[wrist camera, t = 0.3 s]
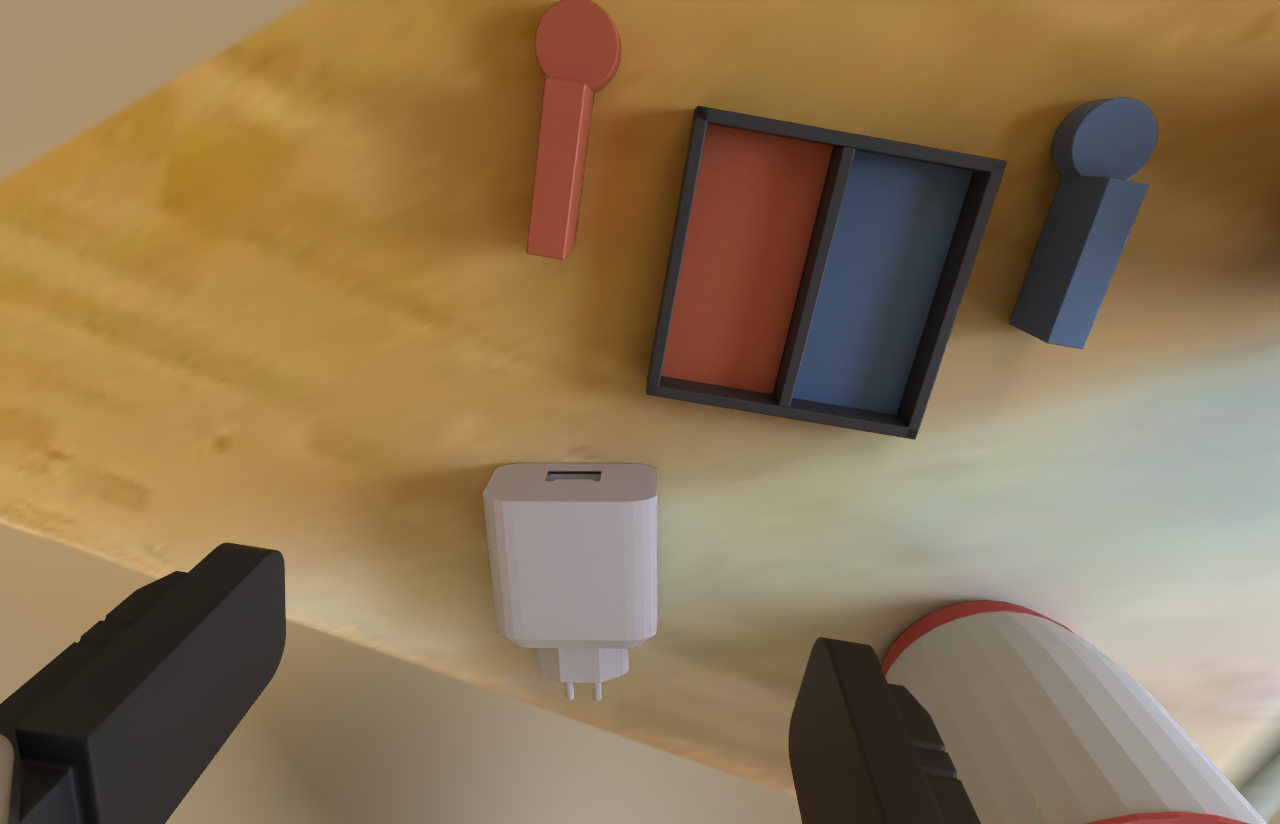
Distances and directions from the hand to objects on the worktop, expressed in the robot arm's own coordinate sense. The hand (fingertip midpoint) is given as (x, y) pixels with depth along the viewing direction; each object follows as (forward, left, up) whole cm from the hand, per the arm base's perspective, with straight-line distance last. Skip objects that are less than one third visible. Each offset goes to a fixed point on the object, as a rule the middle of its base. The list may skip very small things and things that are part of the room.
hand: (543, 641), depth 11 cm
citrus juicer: (+22, +25, -29) cm, 44 cm away
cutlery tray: (-2, +9, -29) cm, 30 cm away
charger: (+18, 0, -29) cm, 34 cm away
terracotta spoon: (-7, -4, -29) cm, 30 cm away
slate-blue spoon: (-7, +21, -29) cm, 36 cm away
